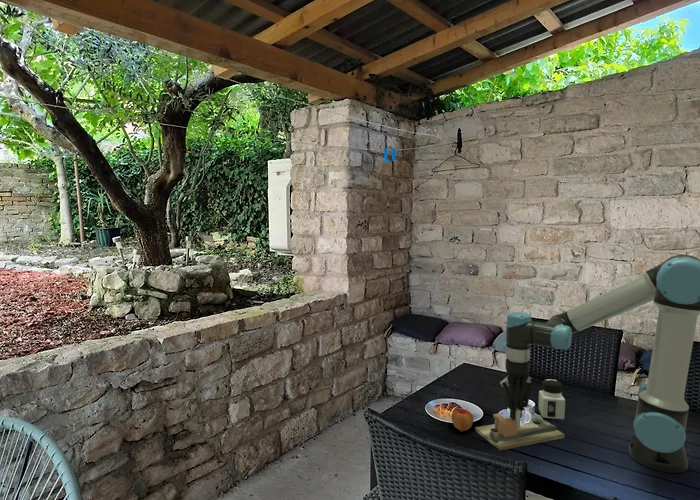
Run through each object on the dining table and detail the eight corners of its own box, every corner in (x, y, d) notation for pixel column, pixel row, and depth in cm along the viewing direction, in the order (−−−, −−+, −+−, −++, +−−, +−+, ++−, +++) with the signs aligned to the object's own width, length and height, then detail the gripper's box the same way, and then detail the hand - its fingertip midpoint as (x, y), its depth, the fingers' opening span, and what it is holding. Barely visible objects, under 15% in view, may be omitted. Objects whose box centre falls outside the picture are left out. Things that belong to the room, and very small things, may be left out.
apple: (460, 436, 154) (461, 414, 153) (447, 427, 160) (447, 406, 160) (477, 432, 157) (477, 410, 156) (463, 423, 164) (464, 402, 163)
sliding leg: (517, 438, 149) (517, 421, 149) (504, 440, 148) (505, 424, 147) (501, 426, 157) (501, 411, 157) (489, 429, 156) (489, 413, 155)
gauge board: (564, 437, 153) (564, 427, 153) (500, 450, 145) (500, 439, 144) (535, 420, 166) (535, 410, 166) (475, 430, 158) (475, 420, 158)
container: (564, 419, 166) (566, 385, 165) (542, 417, 168) (543, 384, 167) (559, 410, 174) (560, 378, 173) (538, 409, 175) (539, 376, 174)
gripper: (526, 353, 155) (523, 419, 157) (494, 357, 151) (492, 425, 153) (541, 360, 148) (539, 429, 150) (508, 364, 144) (506, 435, 145)
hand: (515, 427), depth 151 cm, fingers closed
